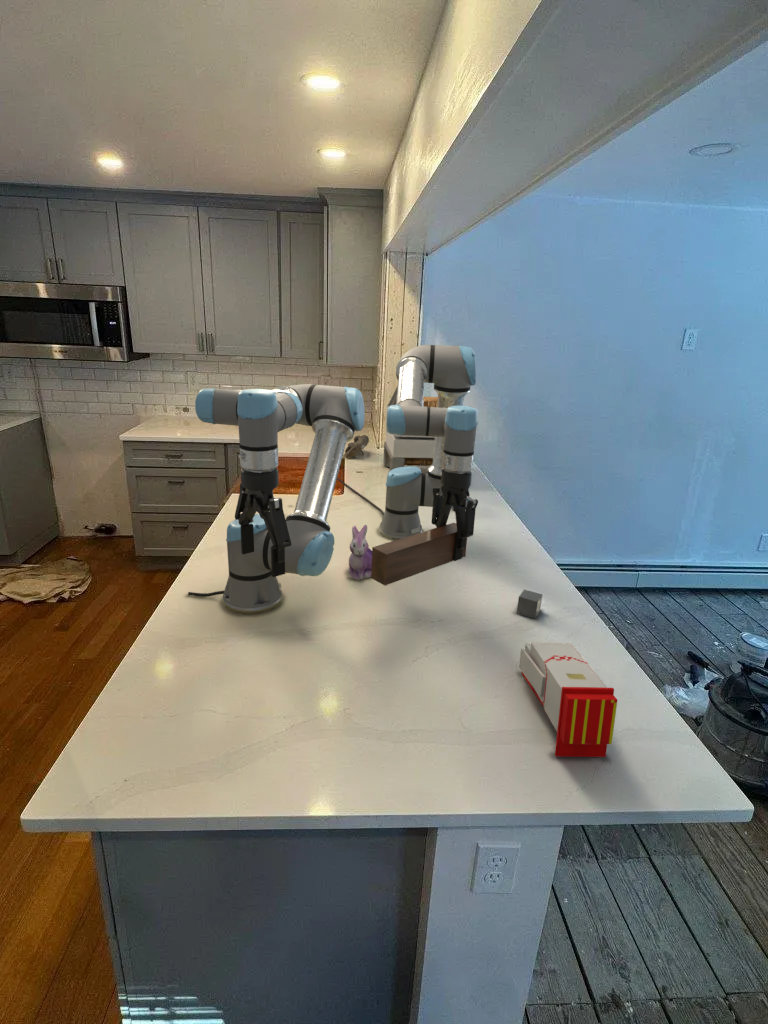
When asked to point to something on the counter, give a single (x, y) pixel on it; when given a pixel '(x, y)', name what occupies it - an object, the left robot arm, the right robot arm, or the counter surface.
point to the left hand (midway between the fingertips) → (262, 563)
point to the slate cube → (529, 603)
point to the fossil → (356, 446)
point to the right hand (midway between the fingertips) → (449, 555)
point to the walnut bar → (414, 554)
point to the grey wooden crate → (409, 444)
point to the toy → (570, 698)
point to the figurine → (360, 555)
